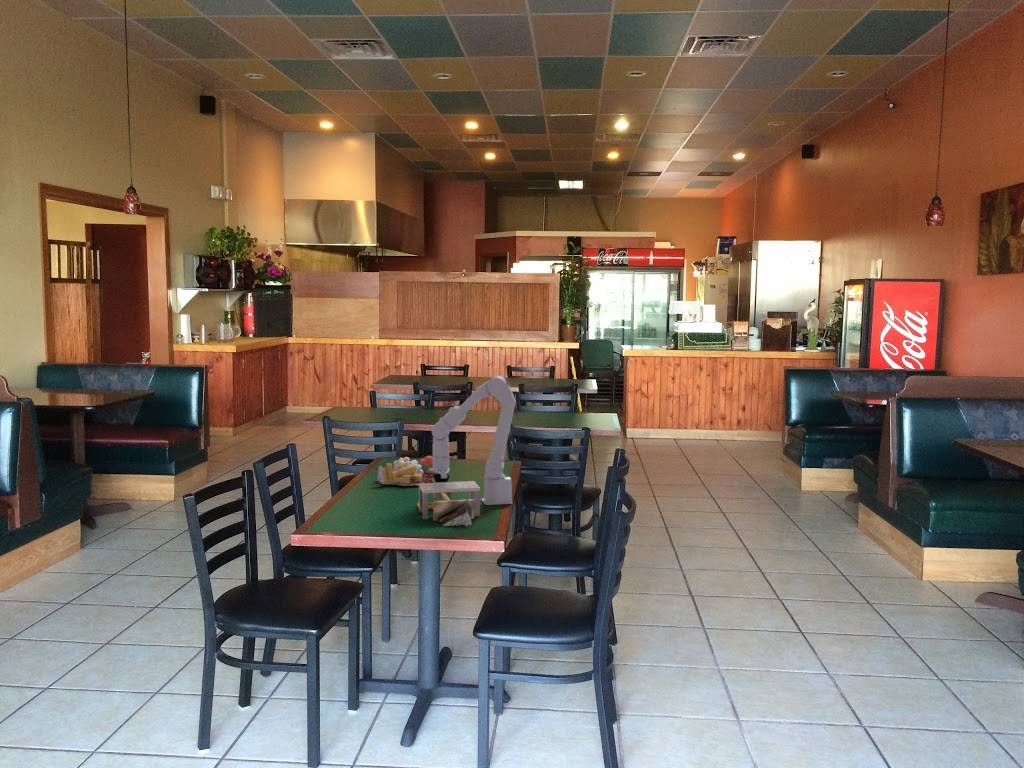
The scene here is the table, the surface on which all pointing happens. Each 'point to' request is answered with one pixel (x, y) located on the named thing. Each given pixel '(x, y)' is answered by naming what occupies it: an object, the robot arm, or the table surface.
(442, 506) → the sled
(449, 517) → the chocolate cake
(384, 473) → the candy landscape model
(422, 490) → the tunnel
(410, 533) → the table surface
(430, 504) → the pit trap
